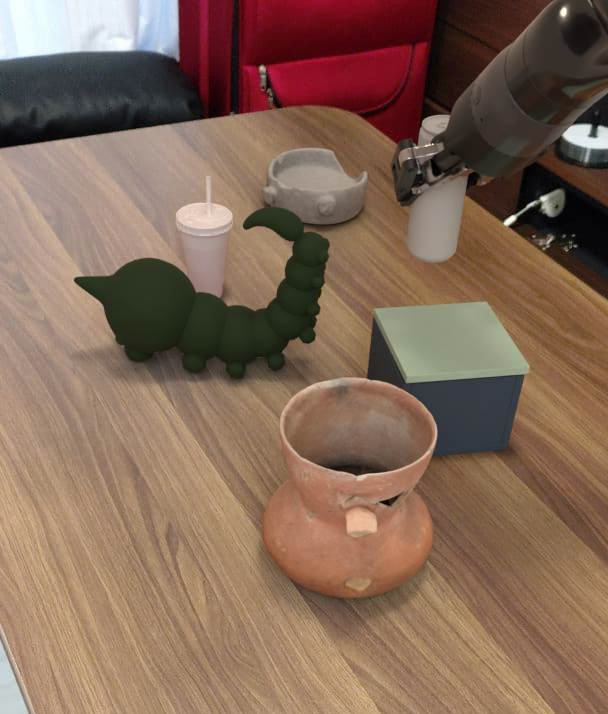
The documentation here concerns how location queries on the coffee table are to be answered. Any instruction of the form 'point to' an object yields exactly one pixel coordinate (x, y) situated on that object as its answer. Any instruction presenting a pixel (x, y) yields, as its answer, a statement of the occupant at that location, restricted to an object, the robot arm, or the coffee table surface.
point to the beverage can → (435, 208)
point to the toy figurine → (215, 305)
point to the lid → (449, 342)
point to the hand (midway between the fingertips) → (428, 192)
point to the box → (455, 403)
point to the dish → (314, 186)
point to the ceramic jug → (352, 488)
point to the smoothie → (205, 242)
